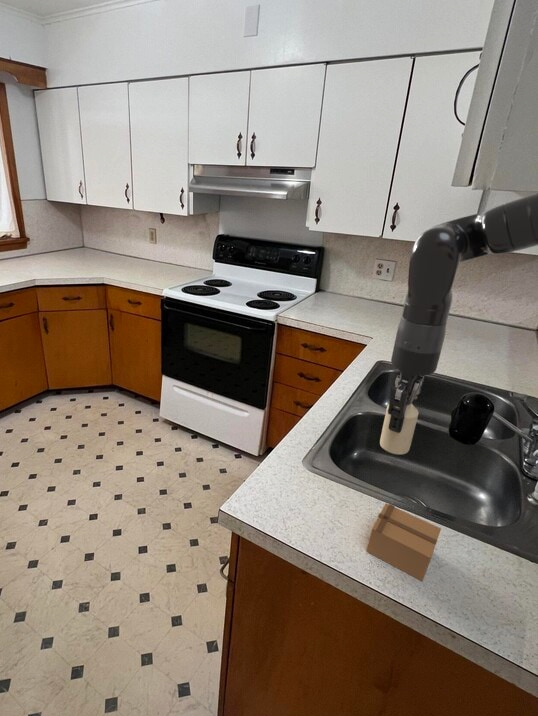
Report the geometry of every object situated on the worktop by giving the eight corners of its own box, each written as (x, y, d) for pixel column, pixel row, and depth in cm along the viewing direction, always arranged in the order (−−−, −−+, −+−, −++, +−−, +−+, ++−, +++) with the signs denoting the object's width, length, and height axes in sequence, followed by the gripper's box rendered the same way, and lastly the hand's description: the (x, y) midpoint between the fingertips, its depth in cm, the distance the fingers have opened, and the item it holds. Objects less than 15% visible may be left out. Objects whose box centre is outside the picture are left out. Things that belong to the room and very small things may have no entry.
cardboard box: (433, 551, 80) (441, 527, 77) (422, 582, 74) (431, 557, 72) (379, 524, 86) (385, 502, 83) (365, 551, 80) (371, 527, 77)
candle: (414, 447, 83) (425, 404, 79) (399, 458, 80) (410, 414, 76) (389, 434, 87) (398, 392, 83) (374, 444, 84) (382, 401, 80)
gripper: (430, 362, 67) (409, 449, 74) (451, 335, 77) (430, 413, 85) (382, 350, 71) (366, 433, 79) (408, 326, 82) (391, 401, 89)
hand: (399, 422), depth 82 cm, fingers closed on candle, 5 cm apart
